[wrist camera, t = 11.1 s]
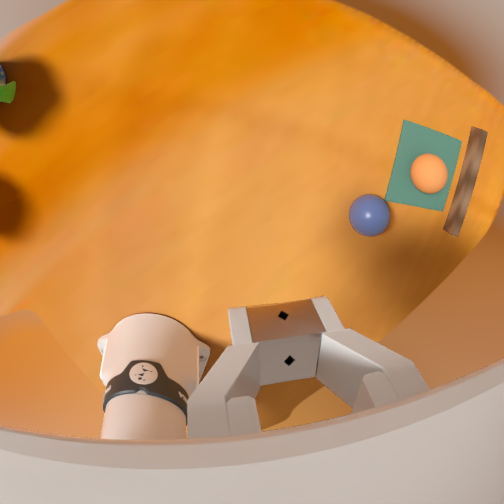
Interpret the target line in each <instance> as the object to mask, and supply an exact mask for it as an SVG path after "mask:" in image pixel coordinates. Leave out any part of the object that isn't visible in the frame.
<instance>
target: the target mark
mask: <svg viewBox="0 0 504 504" xmlns="http://www.w3.org/2000/svg"><path fill="white" fill-rule="evenodd" d="M461 143H462V141H460V140H458V139H455V138H453V137H450V136H448V135H445V134H443V133H440V132H438V131H435V130H432V129H430V128H427V127H424V126H421V125H418V124H416V123H413V122H410V121H407V120H404V121H403V126H402V131H401V135H400V140H399V144H398V149H397V153H396V157H395V162H394V166H393V170H392V174H391V178H390V182H389V185H388V189H387V193H386V197H385V201H390V202H395V203H401V204H406V205H412V206H417V207H422V208H427V209H432V210H437V211H442V212H443V209H444V206H445V203H446V200H447V196H448V193H449V190H450V186H451V183H452V179H453V175H454V172H455V168H456V164H457V160H458V156H459V152H460V148H461ZM422 154H433V155H436V156H438V157H439V158H440V159H441V160H442V161H443V162H444V163H445V165H446V167H447V171H448V179H447V182H446V184H445V186H444V187H443V188H442V189H441V190H440V191H438V192H436V193H432V194H429V193H424V192H422V191H420V190H419V189H418V188H417V187H416V186H415V185H414V184H413V182H412V179H411V175H410V169H411V165H412V163H413V161H414V160H415V159H416V158H417V157H418V156H420V155H422Z"/></svg>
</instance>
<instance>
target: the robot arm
mask: <svg viewBox="0 0 504 504" xmlns="http://www.w3.org/2000/svg"><path fill="white" fill-rule="evenodd" d="M228 314H229V324H230V333H231V342H232V345H231V346H227V348H226V349H225V350H224V352H223V353H222V354H221V356H220V357H219V358H218V360H217V361H216V363H215V364H214V365H213V367H212V368H211V369H210V371H209V372H208V373H207V375H206V376H205V377H204V379H203V380H202V381H201V383H200V384H199V382H200V379H201V377H202V374H203V371H204V369H205V366H206V363H207V361H208V358H209V356H210V347H209V346H208V345H206V344H205V343H203V342H201V341H199V340H197V339H196V338H195V337H194V336H193V335H192V334H191V332H190V331H189V330H188V329H187V328H186V327H185V326H183V325H182V324H181V323H179V322H177V321H176V320H174V319H171V318H169V317H166V316H163V315H158V314H150V313H143V314H135V315H131V316H129V317H126V318H124V319H123V320H121V321H120V322H118V323H117V324H116V325H115V327H114V328H113V329H112V331H111V332H110V333H108V334H106V335H103V336H102V337H100V338H99V339H98V348H99V350H100V352H101V354H102V356H103V359H102V364H101V370H100V379H102V381H103V383H104V385H105V386H106V391H105V393H104V398H103V402H104V403H103V410H104V413H105V414H104V420H103V426H102V432H101V438H88V437H76V436H67V435H58V434H50V433H42V432H36V431H29V430H24V429H18V428H13V427H8V426H3V425H0V504H504V358H502V359H500V360H498V361H496V362H494V363H492V364H490V365H488V366H486V367H484V368H481V369H479V370H477V371H475V372H472V373H470V374H468V375H465V376H463V377H461V378H458V379H456V380H453V381H451V382H449V383H446V384H443V385H441V386H438V387H436V388H433V389H429V387H428V385H427V384H426V382H425V381H424V379H423V378H422V376H421V374H420V373H419V371H418V370H417V368H416V366H415V365H414V363H413V362H412V361H411V360H409V359H407V358H405V357H403V356H401V355H400V354H397V353H396V352H394V351H392V350H390V349H388V348H386V347H384V346H382V345H380V344H378V343H377V342H375V341H373V340H371V339H369V338H367V337H365V336H363V335H361V334H360V333H358V332H356V331H354V330H352V329H350V328H347V329H345V328H344V326H343V324H342V323H341V321H340V319H339V317H338V315H337V314H336V312H335V310H334V308H333V306H332V305H331V303H330V301H329V299H328V298H327V297H326V296H321V297H315V298H310V299H305V300H298V301H291V302H283V303H273V304H263V305H253V306H243V307H233V308H228ZM311 377H316V379H318V380H319V381H320V382H321V383H322V384H324V385H325V386H326V387H327V388H329V389H330V390H331V391H332V392H333V393H335V394H336V395H337V396H338V397H340V398H341V399H342V400H343V401H345V402H346V403H347V404H348V405H350V406H351V407H352V408H353V409H352V412H351V414H350V415H345V416H341V417H337V418H333V419H328V420H324V421H320V422H314V423H309V424H304V425H299V426H294V427H288V428H282V429H276V430H269V431H263V432H262V431H261V427H260V422H259V417H258V412H257V407H256V402H255V398H256V396H257V394H258V392H259V390H260V388H261V386H262V385H268V384H274V383H279V382H285V381H291V380H298V379H305V378H311ZM186 426H187V431H188V439H187V434H186Z"/></svg>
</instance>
